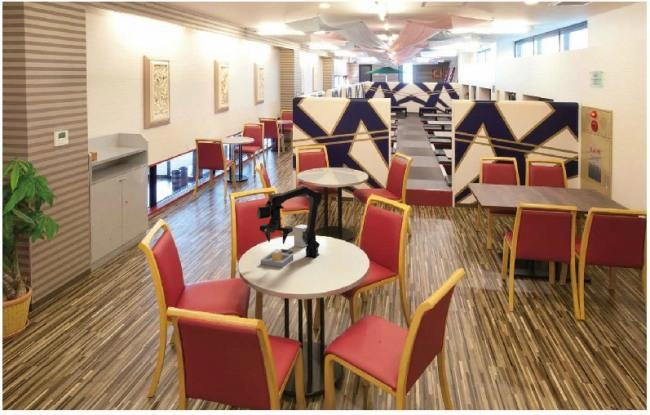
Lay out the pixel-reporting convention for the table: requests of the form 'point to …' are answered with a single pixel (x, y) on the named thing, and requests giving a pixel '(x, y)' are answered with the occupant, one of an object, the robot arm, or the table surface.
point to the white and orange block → (277, 255)
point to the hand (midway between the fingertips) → (276, 242)
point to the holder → (286, 251)
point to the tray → (269, 262)
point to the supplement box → (299, 235)
